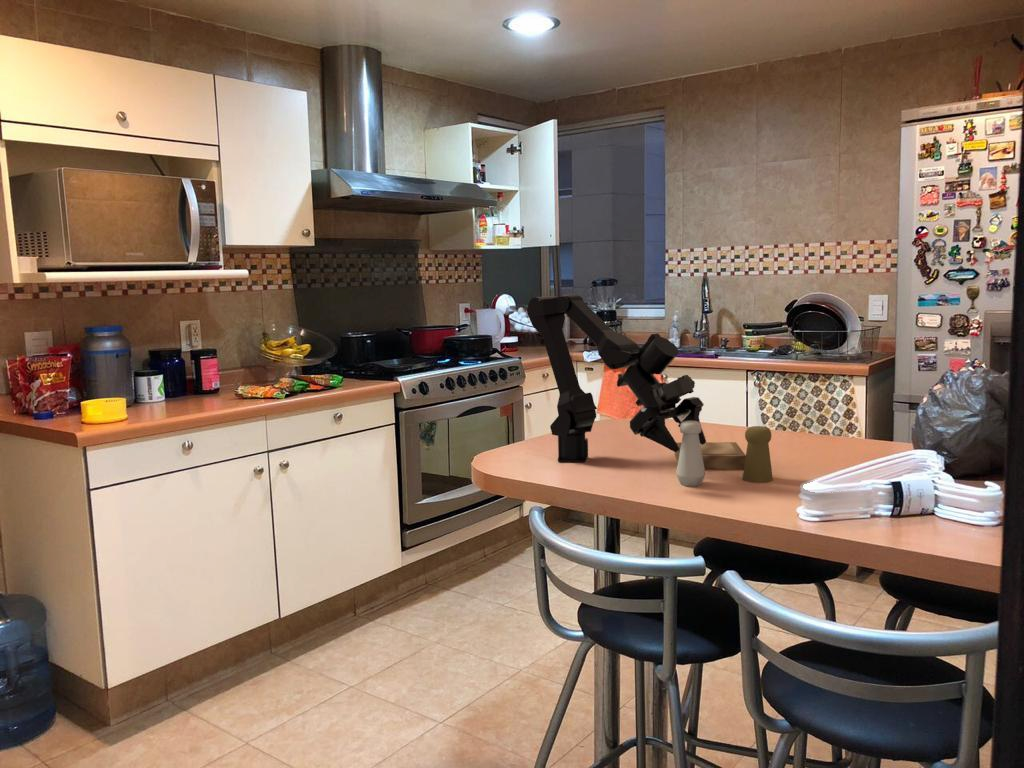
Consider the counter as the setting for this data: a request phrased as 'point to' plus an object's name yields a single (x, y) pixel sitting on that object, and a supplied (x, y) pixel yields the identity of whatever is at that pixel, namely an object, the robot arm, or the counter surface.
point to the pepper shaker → (758, 455)
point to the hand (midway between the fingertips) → (691, 447)
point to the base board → (720, 456)
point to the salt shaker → (690, 455)
